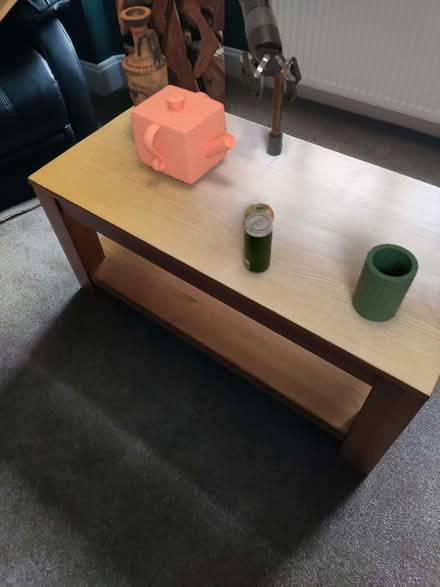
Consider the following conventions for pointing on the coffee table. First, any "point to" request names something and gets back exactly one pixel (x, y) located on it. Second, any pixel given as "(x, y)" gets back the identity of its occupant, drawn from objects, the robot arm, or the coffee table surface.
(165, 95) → the teapot
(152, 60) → the vase
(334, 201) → the coffee table surface
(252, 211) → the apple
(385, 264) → the green hollow cylinder
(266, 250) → the beer can
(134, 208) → the coffee table surface
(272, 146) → the brush
